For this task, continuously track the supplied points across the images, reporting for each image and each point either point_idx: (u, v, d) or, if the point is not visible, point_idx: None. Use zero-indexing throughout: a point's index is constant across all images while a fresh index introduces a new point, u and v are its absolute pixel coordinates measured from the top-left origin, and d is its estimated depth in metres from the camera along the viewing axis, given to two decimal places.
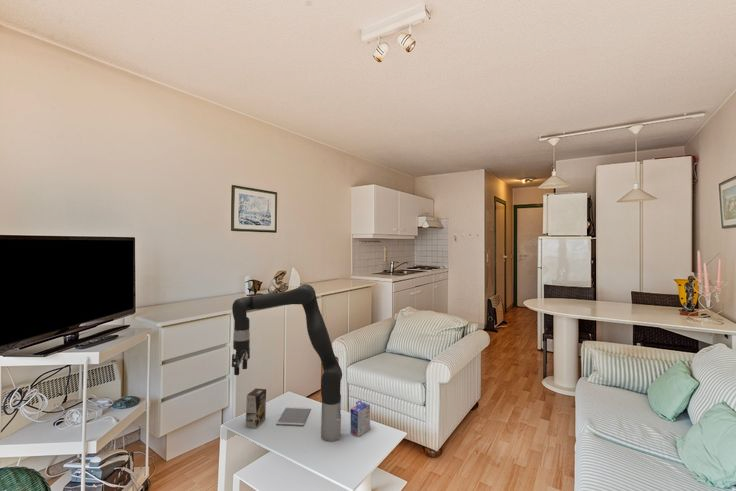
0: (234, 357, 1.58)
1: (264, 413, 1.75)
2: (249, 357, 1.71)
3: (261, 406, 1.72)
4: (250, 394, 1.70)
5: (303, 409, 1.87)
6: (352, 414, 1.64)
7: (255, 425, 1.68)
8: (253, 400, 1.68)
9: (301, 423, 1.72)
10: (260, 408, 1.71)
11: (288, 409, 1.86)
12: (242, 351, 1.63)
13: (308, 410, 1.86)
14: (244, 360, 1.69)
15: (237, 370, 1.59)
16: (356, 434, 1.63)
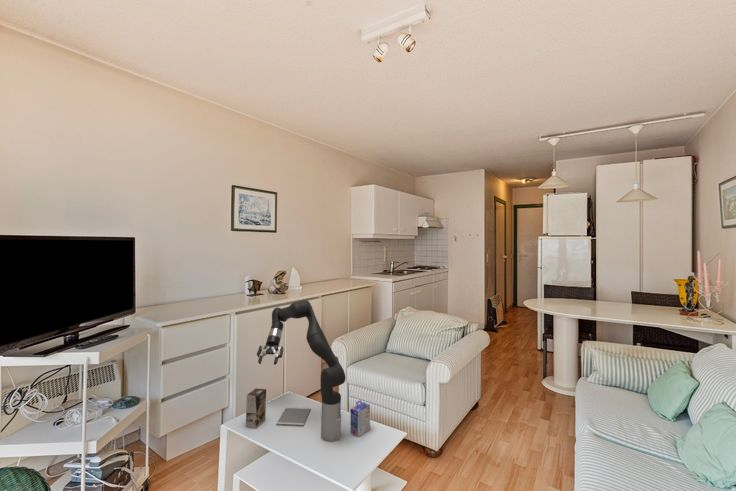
0: None
1: (264, 413, 1.75)
2: (280, 354, 1.90)
3: (261, 406, 1.72)
4: (250, 394, 1.70)
5: (303, 409, 1.87)
6: (352, 414, 1.64)
7: (255, 425, 1.68)
8: (253, 400, 1.68)
9: (301, 423, 1.72)
10: (260, 408, 1.71)
11: (288, 409, 1.86)
12: (269, 346, 1.94)
13: (308, 410, 1.86)
14: None
15: (259, 358, 1.89)
16: (356, 434, 1.63)
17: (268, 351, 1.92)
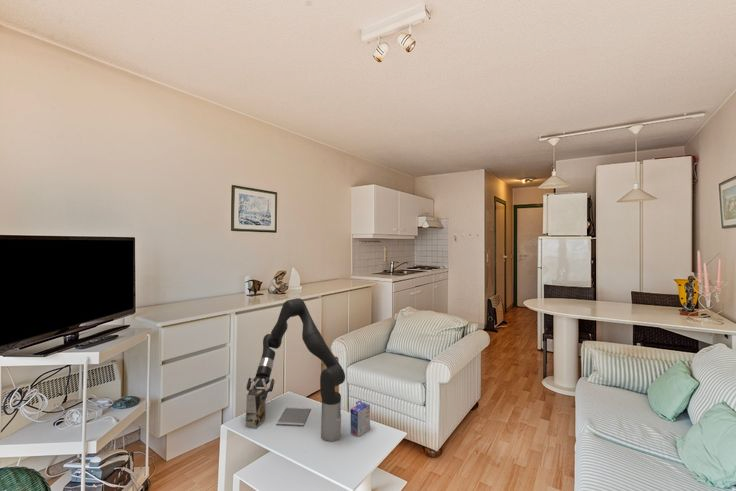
0: None
1: (264, 413, 1.75)
2: (270, 388, 1.75)
3: (261, 405, 1.72)
4: (250, 394, 1.70)
5: (303, 409, 1.87)
6: (352, 414, 1.64)
7: (255, 425, 1.68)
8: (253, 400, 1.68)
9: (301, 423, 1.72)
10: (260, 408, 1.71)
11: (288, 409, 1.86)
12: (259, 377, 1.79)
13: (308, 410, 1.86)
14: None
15: None
16: (356, 434, 1.63)
17: (258, 384, 1.77)
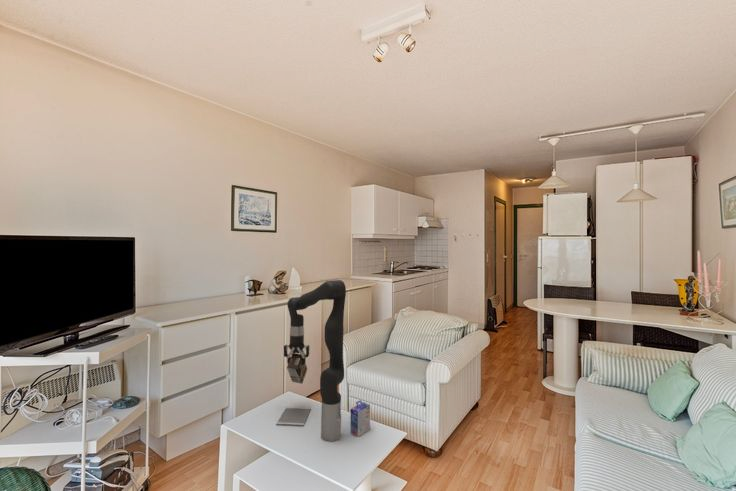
0: None
1: (305, 367, 1.90)
2: (306, 356, 1.81)
3: (302, 369, 1.84)
4: (290, 366, 1.78)
5: (303, 409, 1.87)
6: (352, 414, 1.64)
7: (300, 382, 1.86)
8: (294, 371, 1.78)
9: (301, 423, 1.72)
10: (301, 371, 1.83)
11: (288, 409, 1.86)
12: (294, 345, 1.82)
13: (308, 410, 1.86)
14: (303, 356, 1.83)
15: (287, 360, 1.82)
16: (356, 434, 1.63)
17: (295, 351, 1.82)
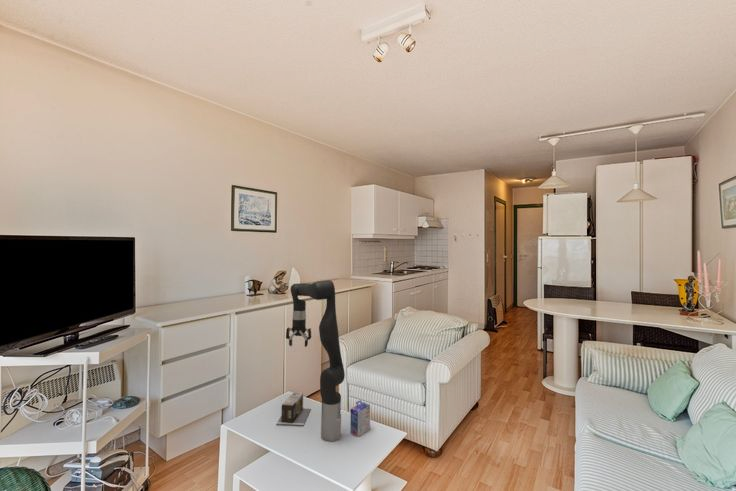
0: None
1: (301, 398, 1.83)
2: (309, 338, 1.92)
3: (297, 409, 1.78)
4: (284, 420, 1.72)
5: (303, 409, 1.87)
6: (352, 414, 1.64)
7: None
8: None
9: (301, 423, 1.72)
10: (298, 410, 1.79)
11: None
12: (296, 328, 1.92)
13: (308, 410, 1.86)
14: None
15: (289, 342, 1.93)
16: (356, 434, 1.63)
17: (296, 334, 1.92)
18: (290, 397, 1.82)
